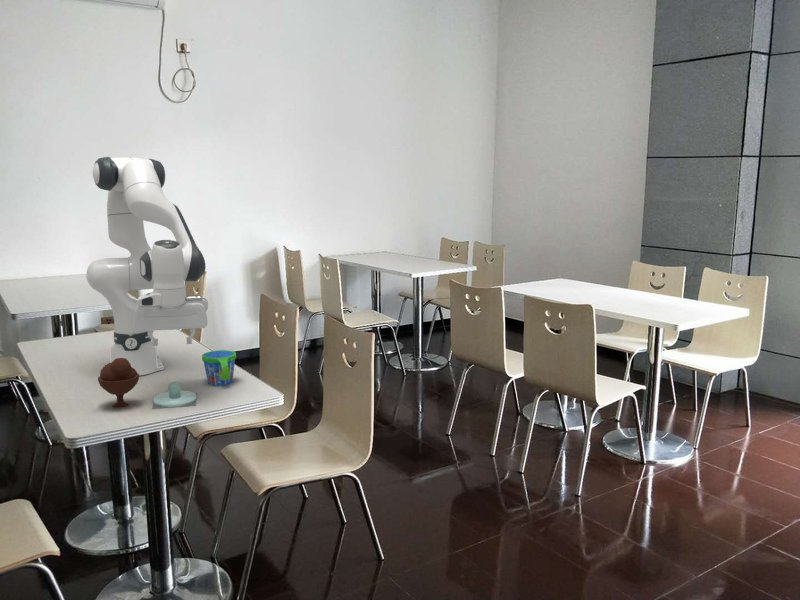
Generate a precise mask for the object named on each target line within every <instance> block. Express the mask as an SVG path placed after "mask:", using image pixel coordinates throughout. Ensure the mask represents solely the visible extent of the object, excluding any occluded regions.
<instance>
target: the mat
mask: <svg viewBox="0 0 800 600" xmlns="http://www.w3.org/2000/svg"><path fill="white" fill-rule="evenodd" d="M194 393H195V394H196V401H195V402H194V403H192V404H189V405H186V406H181V407H180V408H186V407H196V406H197V397H198V396H197V395H198V393H197V392H194ZM174 408H176V407H159V406H156V405H155V404H154V402H153V403H152V408H151V410H160V409H174Z"/></svg>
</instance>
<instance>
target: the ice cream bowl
mask: <svg viewBox="0 0 800 600" xmlns="http://www.w3.org/2000/svg"><path fill="white" fill-rule="evenodd" d="M139 378H140V376H139V374H138V373H137V372H136V370H135V369H134V368H132V367H131V364H130V363H129V361H128V360H127V359H126V358H116V359H115V360H114V361H113V362H112V363H110V362H108V363H106V365H104V366H103V367H102V368H101V370H100V372H99V376H98V377H97V380H98V384H99V385H100V387H101V388H102V389H103V390H104V391H105V392H107V393H109V394H111V395H114V396H116V402H115V403H114V404H112V405H111V407H112V408H113V409H114V408H115V409H123V408H126V407H129V405H130V403H128V402H126V401H124V396H125V394H128V393H129V392H130V391H132V390H133V389H134V388H135V387H136V386H137V384H138V383H139Z"/></svg>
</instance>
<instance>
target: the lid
mask: <svg viewBox="0 0 800 600" xmlns="http://www.w3.org/2000/svg"><path fill="white" fill-rule="evenodd" d="M195 393H196V392H194V391H190V390H189V391H188V390H181V382H178V381H177V382H176V381H175V382H169V383H168V391H166V392H161V393H159V394H156V395H155V396H153V403H154V404H155V405H156V406H159V407H175V408H182V407H181V406H186V405H189V404H192V403H194V402H195V401H196V402H197V399H196V394H195Z"/></svg>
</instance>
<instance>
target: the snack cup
mask: <svg viewBox="0 0 800 600" xmlns="http://www.w3.org/2000/svg"><path fill="white" fill-rule="evenodd" d="M236 358H237V353H236V352H235V351H233V350H225V349H224V350H223V349H222V350H221V349H217V350H211V351H207V352H204V353H203V354H202V355H201V359H202V362H203V365H204V366H203V367H204V370H205V374H206V381H207V384H208V385H209V386H213V387H221V386H226V385H230V384H232V383H233V381H234V373H235V372H234V371H235V361H236Z"/></svg>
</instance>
